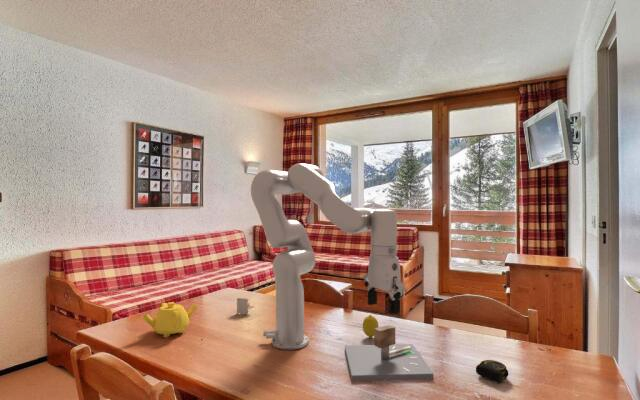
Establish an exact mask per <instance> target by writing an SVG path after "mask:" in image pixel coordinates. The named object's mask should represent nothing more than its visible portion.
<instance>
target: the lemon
mask: <svg viewBox="0 0 640 400" xmlns="http://www.w3.org/2000/svg"><path fill="white" fill-rule="evenodd" d="M378 322H379V321H378V319H377V318H376V317H375V316H373V315H371V314H369V315H367V316H366V317H365V318H364V319H363V321H362V331H363V333H364V334H365V335H366V336H367V337H369V339H372V338H374V328H379V327H380V326H379V323H378Z"/></svg>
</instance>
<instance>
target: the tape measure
mask: <svg viewBox="0 0 640 400" xmlns="http://www.w3.org/2000/svg"><path fill="white" fill-rule="evenodd" d="M475 372H476V374H477V375H478V376H480V377H482V378H484V379H487V380H490V381H491V382H492V381H493V382H494V383H497V384H501V383H502V382H504V381H506V380H507V378H508V376H509V370H508V369H507V365H505V364H504V363H502V362H500V361H497V360H494V359H485V360H482V361H481V362H480V363H479V364H477V365H476V366H475Z"/></svg>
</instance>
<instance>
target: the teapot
mask: <svg viewBox="0 0 640 400" xmlns="http://www.w3.org/2000/svg"><path fill="white" fill-rule="evenodd" d="M197 309H198V305H195V304H192V305H191V307H190V308H189V309H188V311H186V310H185V308H184V306H183V305H182V304H178V303H177V304H176V303H175V302H174V301H171V302H169V301H168V303H167V302H162V303H161V307H160V308H159V309H158V311H157V312H156V313H155V316H154V317H153V318H152V317H151V316H150V314H148V313H145V314H143V316H142V317H141V319H143V321H145V322H146V323H147V324H148V325H149V326H151V328H152V330H153V331H154V332H155V333H157V334H158V335H163V336H162V338H163V337H167V338H169V337H170V336H171V334H172V335H174V334H178V333H179V334H178V335H181V334H180V333H183V334H185V330H186V329H187V327H189V324H190V318H191V317H192V315H193V314H194V313H195V311H196V310H197Z"/></svg>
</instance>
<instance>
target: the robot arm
mask: <svg viewBox="0 0 640 400" xmlns="http://www.w3.org/2000/svg"><path fill="white" fill-rule="evenodd" d="M251 181H252V182H251V185H250V196H251V199H252V202H253V205H254V206H255V209H256V211H257V213H258V216H259V218H260V222H261V225H262V227H263V231H264V233H265V236H266V239H267V242H268V243H269V245H270V246H271V247H272V248H274V249H280V248H281V249H282V248H287V249H286V250H283V251H281V252H278V254H276V255H275V257H274V258H273V263H272V271H273V276H274V283H275V306H276V307H275V308H276V309H275V312H276V313H275V316H276V317H275V318H276V319H275V321H276V322H275V324H276V325H275V326H276V327H275V328H274V329H272V330H267V329H266V330H263V333H262V334H263V337H265V339H271V345H272V346H273V347H274V348H276V349H280V350H286V351H288V350H289V351H291V350H298V349H302V348H304V347H306V346H307V345H308V344H309V342H310V337H309V336H308V335H306V334H305V294H304V293H305V292H304V291H305V290H304V285H303V282H302V279H301V276H302V275H305V274H308V273H309V272H311V271H312V270H313V269H314V267H315V266H316V254H315V252H314V249H313V246H312V244H311V241H310V238H309V236H308V233H307V231H306V229H305V227H304V225H303V224H302V223H301V222H300V221H298V220H296V219H288V218H287V217H286V214H285V213H284V212H285V211H284V208H283V207H282V205H281V204H280V202H279V201H278V199H277V198H276V197H275V195H292V194H293V195H294V194H297V193H301V194H303V195H304V196H306V198H308V199H309V200H311V202H313V203H314V204H315V205H317V206H318V209H319V210H320V211H321V213H322V215H323V216H324V217H325V219H327V220H328V221H329V222H330V223H331V224H333V225H334V226H335V227H337V228H338V229H339V230H341V231H342V232H344V233H346V234H351V235H355V234H361V233H369V232H370V256H369V261H368V268H367V269H368V270H367V273H365V274H363V279H364V285H365V287H366V291H367V305H368V306H371V305H376V304H378V290H380V291H383V292H386V293H388V295H389V297H390V299H389V307H388V309H389V310H388V311H389V314H390V315H394V314H398V313H399V312H400V300H401V299H402V297H403V296H404V293H405V291H406V289H407V287H406V285H405V284H404V283H402V275H401V266H400V260H399V256H397V254H398V250H397V243H398V242H397V241H398V240H397V239H398V238H397V236H398V235H397V233H398V230H397V228H398V226H397V225H398V224H397V223H398V215H397V212H396V211H395V210H394V209H387V208H386V209H373V208H367V207H358V208H357V207H353V206H351V205H350V204H348V203H346V201H344V200H342V198H340V197H339V196H338V195H337V194H336V186H335V184H334V183H333V182H332V181H330V180H328V179H327V178H326V177H324V173H323V172H322V169H321V168H320V167H318V166H317V165H314V164H310V163H303V162H302V163H300V162H299V163H296V164H294V165H292V166H290V168H289V169H288V171H284V170H275V169H266V170H261V171H260V172H258V173H256V175H254V177H253V180H251Z"/></svg>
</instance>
